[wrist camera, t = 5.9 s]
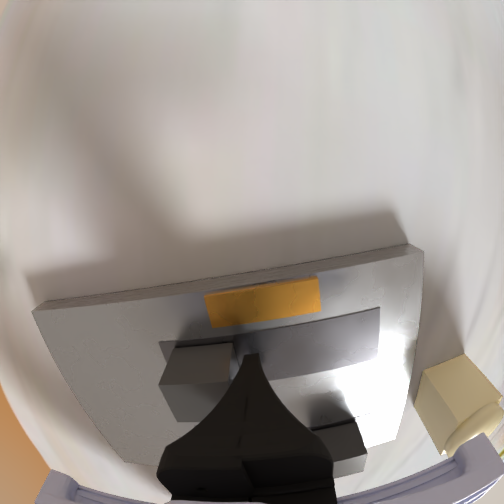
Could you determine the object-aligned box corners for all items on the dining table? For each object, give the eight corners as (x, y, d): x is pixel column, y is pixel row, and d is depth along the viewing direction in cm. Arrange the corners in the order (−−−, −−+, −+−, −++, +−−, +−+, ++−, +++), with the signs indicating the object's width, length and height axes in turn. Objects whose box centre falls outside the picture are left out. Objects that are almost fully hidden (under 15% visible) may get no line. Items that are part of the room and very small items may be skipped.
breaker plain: (354, 441, 15) (363, 471, 13) (312, 450, 16) (317, 481, 13) (356, 421, 15) (367, 453, 12) (310, 431, 15) (316, 465, 12)
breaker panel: (389, 425, 17) (395, 440, 16) (129, 449, 19) (124, 463, 17) (409, 243, 13) (426, 252, 12) (44, 301, 14) (29, 313, 13)
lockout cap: (454, 391, 17) (489, 439, 11) (409, 409, 17) (439, 467, 11) (467, 348, 15) (513, 398, 9) (419, 368, 16) (461, 430, 10)
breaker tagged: (242, 380, 14) (240, 420, 11) (187, 384, 14) (177, 422, 11) (232, 342, 13) (227, 381, 10) (173, 348, 13) (157, 385, 10)
